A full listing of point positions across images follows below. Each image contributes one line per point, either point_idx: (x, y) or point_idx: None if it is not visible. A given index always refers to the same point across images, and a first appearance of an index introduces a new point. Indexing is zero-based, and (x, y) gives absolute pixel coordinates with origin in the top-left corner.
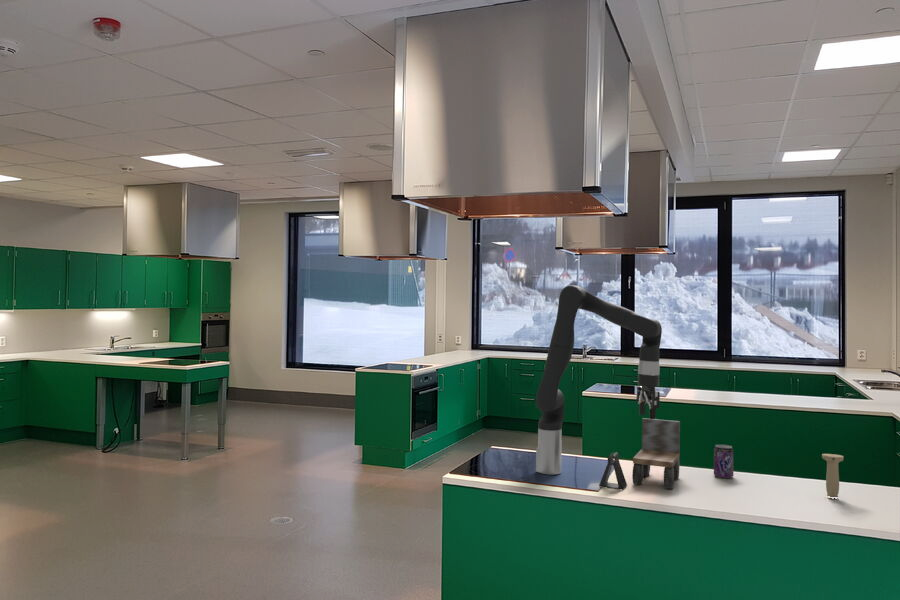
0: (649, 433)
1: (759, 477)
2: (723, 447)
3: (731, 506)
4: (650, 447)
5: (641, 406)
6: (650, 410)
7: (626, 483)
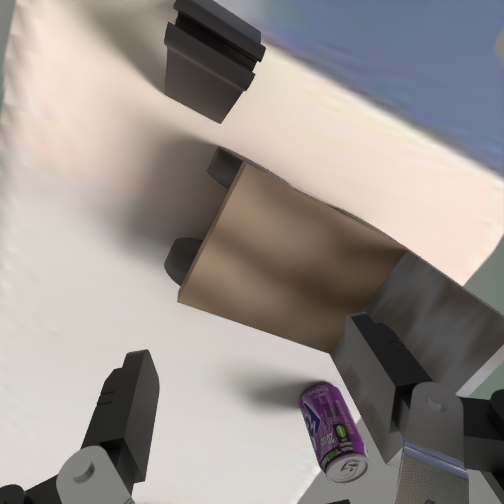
0: (431, 310)
1: (309, 449)
2: (331, 468)
3: (48, 352)
4: (392, 281)
5: (384, 384)
6: (106, 427)
7: (220, 121)
